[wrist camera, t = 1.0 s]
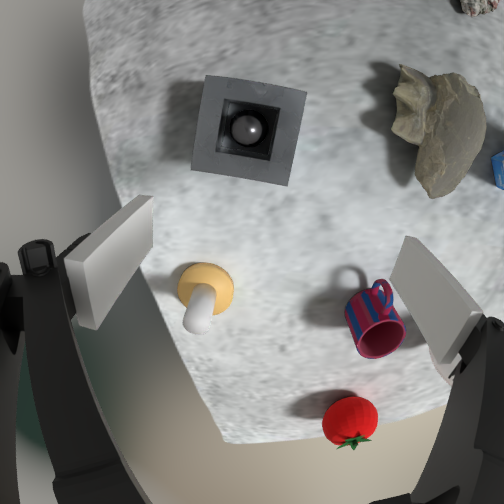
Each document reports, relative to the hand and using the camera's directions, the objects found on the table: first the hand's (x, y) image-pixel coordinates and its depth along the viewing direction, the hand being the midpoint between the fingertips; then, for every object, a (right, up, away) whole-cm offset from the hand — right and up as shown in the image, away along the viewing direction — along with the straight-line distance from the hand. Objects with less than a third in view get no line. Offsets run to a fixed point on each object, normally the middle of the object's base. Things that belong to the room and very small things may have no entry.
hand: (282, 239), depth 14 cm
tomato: (+16, -29, +34) cm, 48 cm away
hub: (-7, -5, +23) cm, 25 cm away
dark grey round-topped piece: (-2, +12, +14) cm, 19 cm away
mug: (+15, -7, +24) cm, 29 cm away
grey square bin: (-2, +12, +14) cm, 19 cm away
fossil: (+18, +14, +14) cm, 26 cm away
